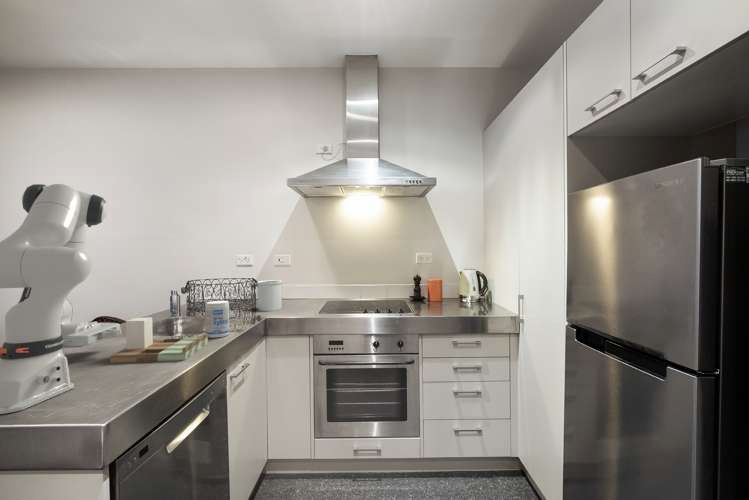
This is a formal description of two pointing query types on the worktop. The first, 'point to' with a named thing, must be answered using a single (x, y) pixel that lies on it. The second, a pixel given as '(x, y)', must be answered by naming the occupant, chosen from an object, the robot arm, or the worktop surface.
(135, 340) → the cream block
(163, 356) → the brown green flat slab
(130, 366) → the worktop surface
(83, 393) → the worktop surface
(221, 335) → the supplement tub
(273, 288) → the utensil holder
